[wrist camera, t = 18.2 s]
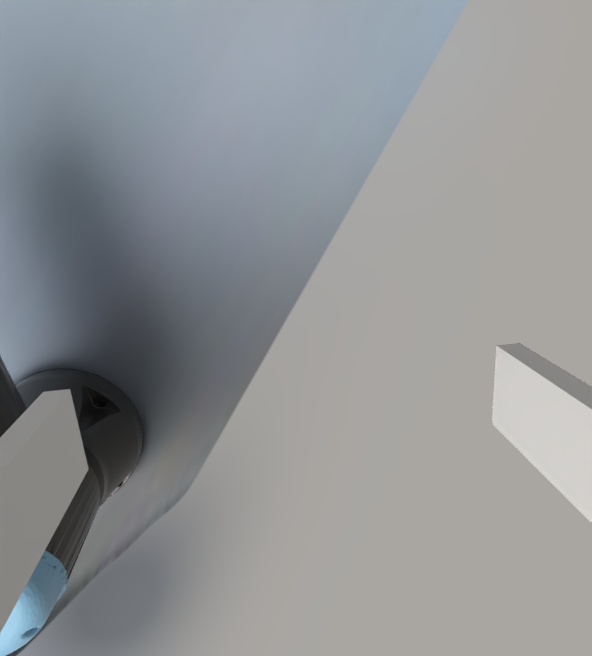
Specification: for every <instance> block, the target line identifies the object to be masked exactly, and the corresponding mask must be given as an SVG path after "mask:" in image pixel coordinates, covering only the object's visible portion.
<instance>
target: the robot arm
mask: <svg viewBox="0 0 592 656" xmlns="http://www.w3.org/2000/svg"><path fill="white" fill-rule="evenodd" d="M492 414H493V415H492V424H493V425H494V426H495V427H496V428H497V429H498V430H499V431H500V432H501V433H502V434H503V435H504V436H505V437H506V438H507V439H508V440H509V441H510V442H511V443H512V444H513V445H514V446H515V447H516V448H517V449H518V450H519V451H520V452H521V453H522V454H523V455H524V456H525V457H526V458H527V459H528V460H529V461H530V462H531V463H532V464H533V465H534V466H535V467H536V468H537V469H538V470H539V471H540V472H541V473H542V474H543V475H544V476H545V477H546V478H547V479H548V480H549V481H550V482H551V483H552V484H553V485H554V486H555V487H556V488H557V489H558V490H559V491H560V492H561V493H562V494H563V495H564V496H565V497H566V498H567V499H568V500H569V501H570V502H571V503H572V504H573V505H574V506H575V507H576V508H577V509H578V510H579V511H580V512H581V513H582V514H583V515H584V516H585V517H586V518H587V519H588V520H589V521H590V522H591V523H592V387H591V386H590V385H588V384H586V383H585V382H583V381H581V380H580V379H578V378H576V377H575V376H573V375H571V374H570V373H568V372H566V371H565V370H563V369H561V368H560V367H558V366H557V365H555V364H553V363H552V362H550V361H548V360H547V359H545V358H543V357H542V356H540V355H538V354H537V353H535V352H533V351H532V350H530V349H529V348H527V347H525V346H524V345H522V344H520V343H517V344H508V345H497V347H496V364H495V381H494V397H493V413H492ZM142 445H143V430H142V424H141V421H140V418H139V415H138V413H137V411H136V409H135V407H134V406H133V404H132V403H131V401H130V400H129V399H128V398H127V396H126V395H125V394H124V393H123V392H122V391H120V390H119V389H118V388H117V387H116V386H114V385H113V384H111V383H110V382H108V381H106V380H105V379H103V378H101V377H98V376H96V375H93V374H90V373H87V372H83V371H78V370H71V369H55V370H48V371H43V372H39V373H36V374H34V375H31V376H29V377H27V378H25V379H23V380H22V381H20V382H19V383H17V384H16V385H15V384H14V382H13V380H12V378H11V376H10V374H9V372H8V370H7V368H6V366H5V364H4V362H3V360H2V358H1V356H0V656H5V655H8V654H10V653H12V652H13V651H15V650H17V649H18V648H20V647H21V646H23V645H24V644H26V643H27V642H28V641H29V640H31V639H32V638H33V637H34V636H35V635H36V634H37V633H38V631H39V630H40V629H41V628H42V626H43V625H44V623H45V622H46V620H47V618H48V616H49V614H50V612H51V611H52V609H53V607H54V605H55V603H56V601H57V600H58V599H59V598H60V597H61V595H62V593H63V592H64V591H65V589H66V586H67V582H68V579H69V577H70V574H71V572H72V569H73V567H74V565H75V562H76V560H77V558H78V555H79V553H80V551H81V548H82V546H83V543H84V541H85V539H86V536H87V534H88V532H89V529H90V527H91V524H92V522H93V520H94V517H95V515H96V513H97V510H98V508H99V506H100V505H102V504H103V503H104V502H105V501H106V499H107V498H108V497H110V496H112V495H113V494H114V493H115V492H117V491H118V490H119V489H120V488H121V487H122V486H123V485H124V484H125V483H126V482H127V480H128V479H129V477H130V476H131V474H132V473H133V471H134V469H135V467H136V464H137V461H138V459H139V456H140V453H141V450H142Z"/></svg>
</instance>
